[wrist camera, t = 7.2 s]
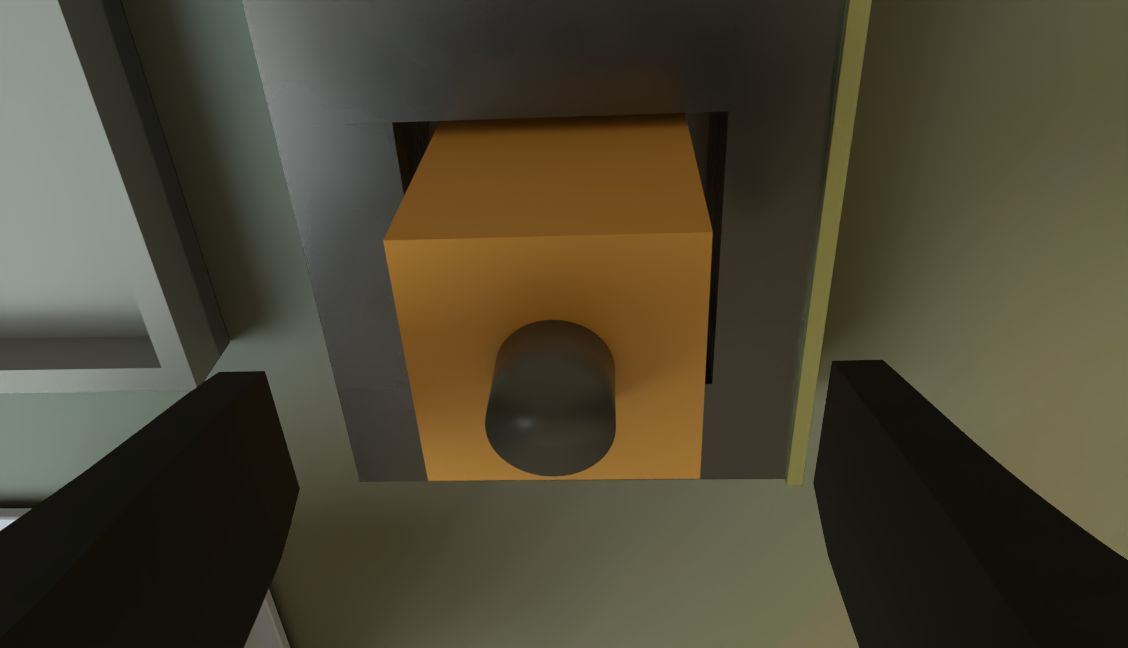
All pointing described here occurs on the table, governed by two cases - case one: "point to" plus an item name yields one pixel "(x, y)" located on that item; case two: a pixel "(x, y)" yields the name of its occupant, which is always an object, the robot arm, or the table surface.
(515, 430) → the plug
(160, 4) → the table surface
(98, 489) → the robot arm
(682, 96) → the open box
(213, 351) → the tray
